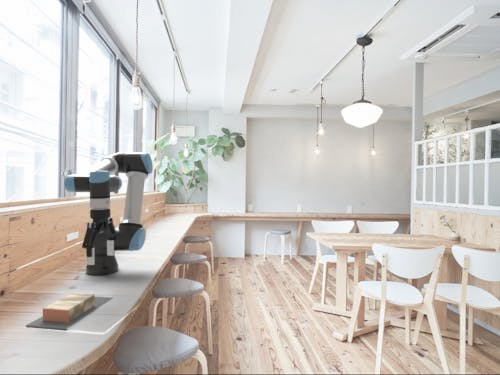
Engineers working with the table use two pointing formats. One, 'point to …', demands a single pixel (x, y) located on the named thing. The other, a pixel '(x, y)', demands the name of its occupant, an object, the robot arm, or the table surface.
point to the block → (68, 307)
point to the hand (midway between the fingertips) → (101, 259)
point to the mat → (63, 325)
